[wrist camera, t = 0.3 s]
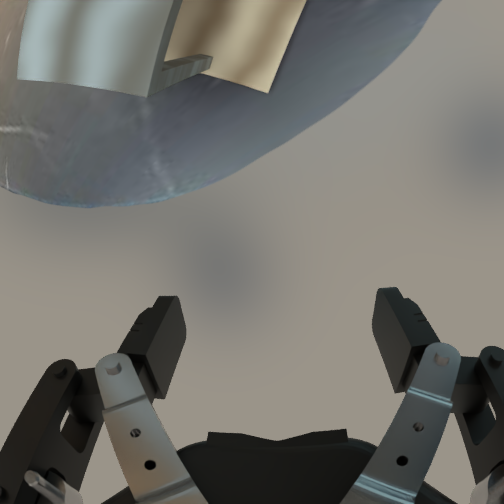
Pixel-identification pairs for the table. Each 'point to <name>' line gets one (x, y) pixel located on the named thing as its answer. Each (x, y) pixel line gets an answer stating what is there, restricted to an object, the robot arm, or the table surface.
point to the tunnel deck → (155, 42)
